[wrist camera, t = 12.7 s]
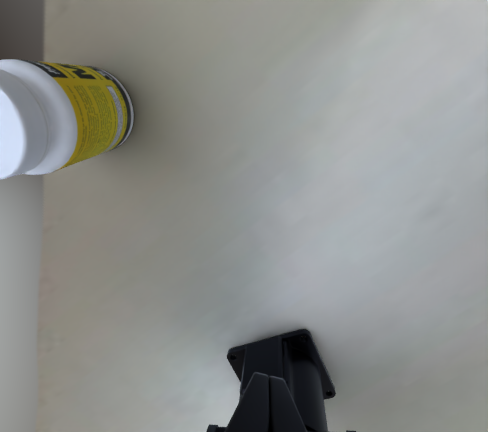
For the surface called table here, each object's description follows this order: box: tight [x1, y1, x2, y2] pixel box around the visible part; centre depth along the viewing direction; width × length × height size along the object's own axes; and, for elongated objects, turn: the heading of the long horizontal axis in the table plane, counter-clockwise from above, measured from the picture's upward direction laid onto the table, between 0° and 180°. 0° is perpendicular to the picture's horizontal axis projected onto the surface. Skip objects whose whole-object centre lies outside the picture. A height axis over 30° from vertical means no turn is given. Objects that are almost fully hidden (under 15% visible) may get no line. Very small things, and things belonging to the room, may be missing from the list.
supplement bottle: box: [0, 59, 134, 180], centre depth 15 cm, size 5×5×8 cm
